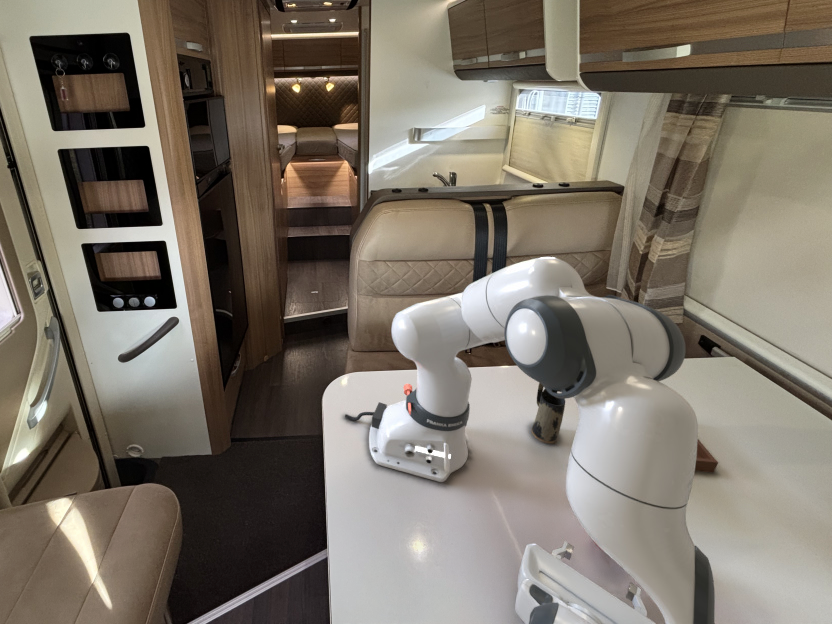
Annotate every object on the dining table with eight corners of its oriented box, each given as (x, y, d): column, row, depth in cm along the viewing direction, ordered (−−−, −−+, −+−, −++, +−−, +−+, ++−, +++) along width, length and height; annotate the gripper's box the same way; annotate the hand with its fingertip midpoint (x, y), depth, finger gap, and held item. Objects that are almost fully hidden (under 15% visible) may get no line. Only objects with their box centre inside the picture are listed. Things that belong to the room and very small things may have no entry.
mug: (562, 443, 99) (573, 403, 95) (539, 444, 99) (549, 404, 94) (544, 417, 106) (553, 379, 102) (522, 418, 106) (531, 380, 102)
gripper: (678, 700, 53) (686, 603, 62) (510, 578, 66) (539, 513, 75) (663, 725, 55) (673, 628, 65) (504, 602, 68) (532, 536, 78)
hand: (600, 565), depth 70 cm, fingers open, 8 cm apart
